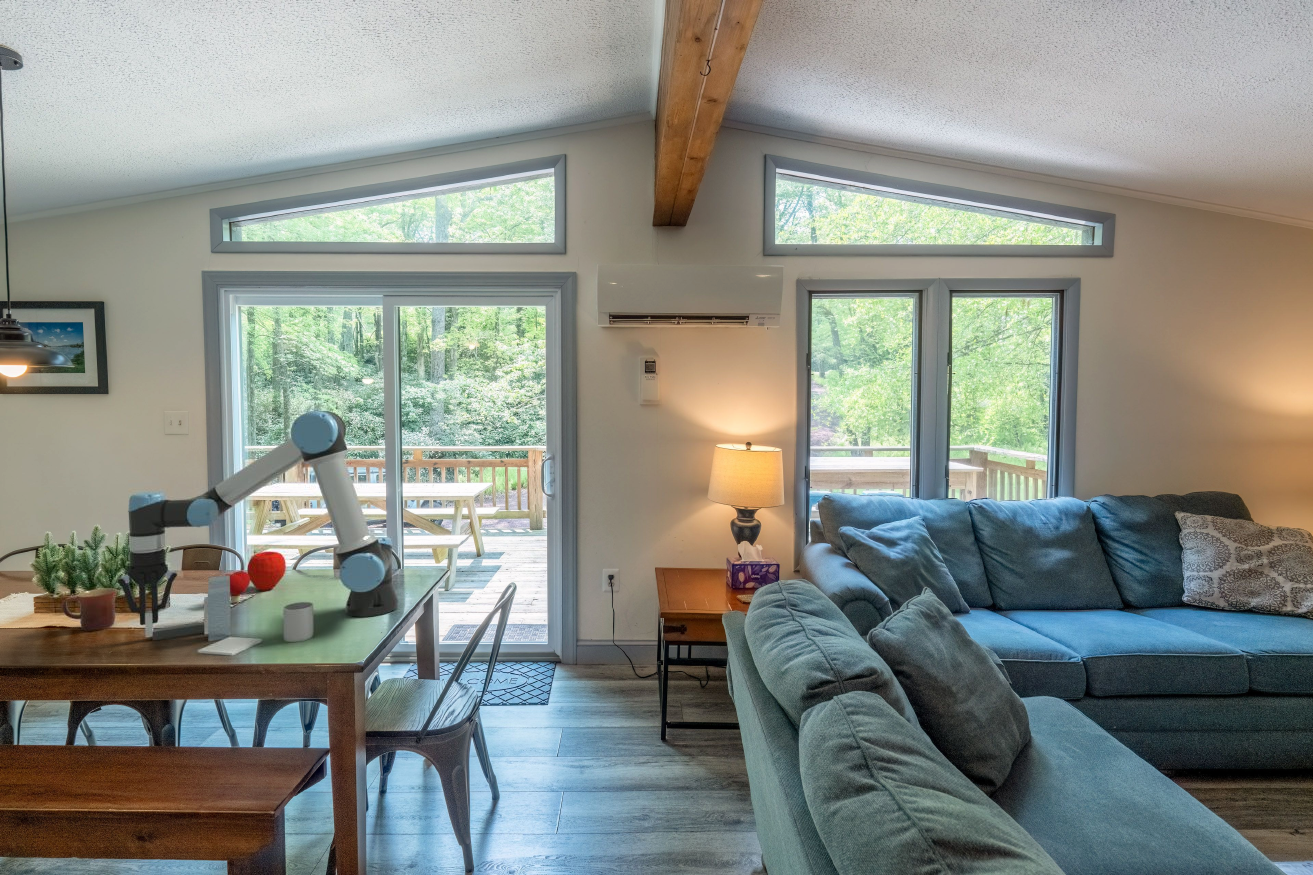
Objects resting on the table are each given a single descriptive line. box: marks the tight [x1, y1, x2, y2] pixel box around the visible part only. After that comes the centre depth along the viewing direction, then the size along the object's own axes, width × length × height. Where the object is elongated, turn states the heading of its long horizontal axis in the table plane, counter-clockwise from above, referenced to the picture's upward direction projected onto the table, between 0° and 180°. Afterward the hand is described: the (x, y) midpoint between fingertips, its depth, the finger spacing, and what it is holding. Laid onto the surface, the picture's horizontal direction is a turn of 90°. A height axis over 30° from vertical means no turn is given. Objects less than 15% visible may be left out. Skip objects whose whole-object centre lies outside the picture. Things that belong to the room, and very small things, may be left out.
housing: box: [207, 575, 232, 642], centre depth 180 cm, size 5×20×13 cm, turn 35°
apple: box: [246, 550, 287, 592], centre depth 220 cm, size 12×12×13 cm
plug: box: [152, 596, 209, 642], centre depth 176 cm, size 18×6×9 cm, turn 125°
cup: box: [282, 601, 314, 643], centre depth 175 cm, size 7×10×9 cm
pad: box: [197, 636, 263, 656], centre depth 167 cm, size 10×10×1 cm
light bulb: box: [224, 570, 251, 604], centre depth 204 cm, size 9×7×10 cm
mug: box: [61, 587, 119, 632], centre depth 179 cm, size 12×9×10 cm
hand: (149, 635), depth 171 cm, fingers closed
